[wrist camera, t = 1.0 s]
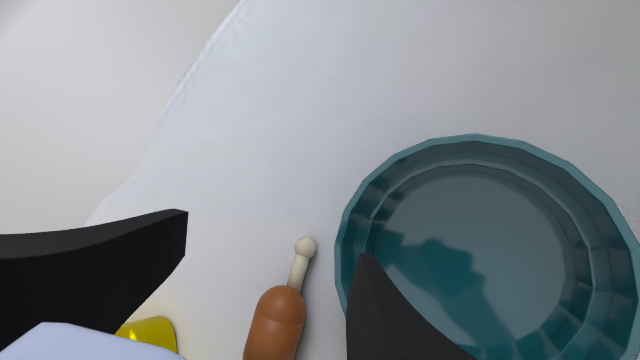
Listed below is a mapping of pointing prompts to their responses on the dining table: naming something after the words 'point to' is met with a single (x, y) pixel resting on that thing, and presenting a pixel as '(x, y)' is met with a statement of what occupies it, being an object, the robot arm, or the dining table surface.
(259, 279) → the dining table surface
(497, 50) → the dining table surface
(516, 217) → the teal mixing bowl
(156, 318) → the element tile
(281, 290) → the drumstick
